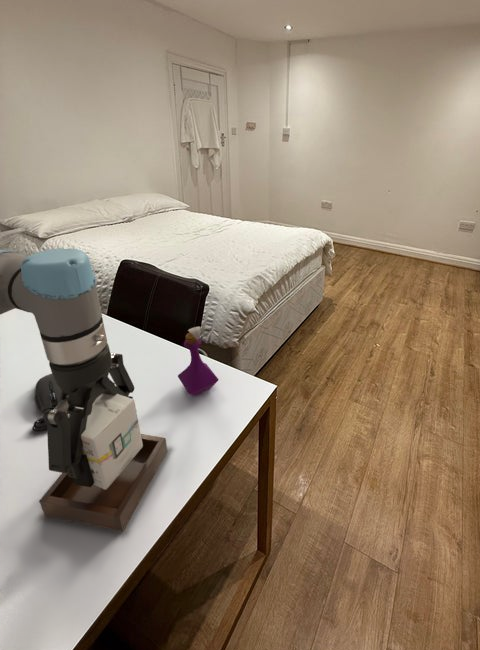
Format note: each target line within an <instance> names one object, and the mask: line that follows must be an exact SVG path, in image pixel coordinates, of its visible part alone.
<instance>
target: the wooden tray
mask: <svg viewBox="0 0 480 650" xmlns="http://www.w3.org/2000/svg"><path fill="white" fill-rule="evenodd" d="M141 439H142V444H143V447H142V448H141V449H140V451H139V452H138V453H137V454H136V455H135V457H134V458H133V459H132V460H131V461H130V463H129V464H128V465H127V466H126V467H125V469H124V470H123V471H122V472H121V473H120V474H119V476H118V477H117V478H116V479H115V480H114V481H113V483H112V484H111V485H110V486H109V487H108V488H107V489H106V490H105V489H103V488H100V487H98V486H96V485H94V484H93V485H92V487H86V486H80V485H76V484H75V481H74V478H72V477H69V476H68V474H67V473H61V474H59V476H58V477H57V479H56V480H55V481H53V484H51V486H50V487H49V488H48V489H47V490H46V492H45V493H44V494H43V496H42V497H40V498H39V500H38V501H39V505H40V507H41V510H42V513H43V515H44V517H49V518H55V519H59V520H65V521H70V522H74V523H79V524H84V525H89V526H94V527H99V528H105V529H108V530H114V531H120V532H124V530H125V529H126V527H127V525H128V524H129V522H130V520H131V518H132V516H133V514H134V513H135V511H136V509H137V507H138V505H139V504H140V502H141V501H142V498H143V496H144V495H145V493H146V491H147V490H148V487H149V486H150V484H151V482H152V481H153V479H154V477H155V474H157V471H158V470H159V468H160V466H161V465H162V462H163V460H164V459H165V457H166V455H167V453H168V445H167V439H166V437H164V436H163V437H162V436H156V435H152V434H151V435H150V434H143V433H141Z"/></svg>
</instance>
